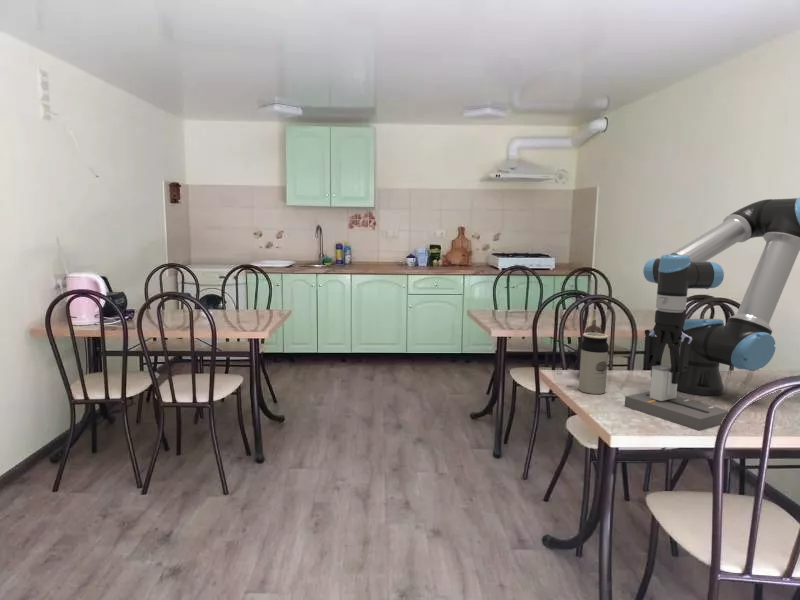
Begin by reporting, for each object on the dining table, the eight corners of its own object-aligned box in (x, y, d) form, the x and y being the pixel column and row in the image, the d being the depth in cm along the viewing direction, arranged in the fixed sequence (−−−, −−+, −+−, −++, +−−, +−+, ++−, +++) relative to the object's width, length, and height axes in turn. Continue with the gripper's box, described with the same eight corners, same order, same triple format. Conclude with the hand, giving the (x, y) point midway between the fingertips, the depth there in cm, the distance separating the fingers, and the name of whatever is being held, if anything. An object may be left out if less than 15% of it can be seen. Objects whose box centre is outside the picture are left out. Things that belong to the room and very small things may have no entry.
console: (624, 406, 159) (625, 395, 158) (654, 399, 166) (655, 389, 166) (699, 430, 140) (700, 418, 140) (729, 422, 147) (730, 410, 147)
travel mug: (574, 387, 177) (578, 332, 175) (598, 387, 178) (602, 332, 176) (585, 394, 169) (589, 337, 167) (609, 394, 170) (614, 337, 168)
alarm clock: (579, 371, 199) (583, 316, 196) (600, 373, 196) (604, 317, 193) (576, 381, 185) (580, 322, 183) (599, 383, 182) (604, 324, 180)
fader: (649, 397, 156) (651, 366, 155) (664, 394, 159) (667, 363, 158) (660, 401, 153) (663, 369, 152) (676, 397, 156) (679, 366, 155)
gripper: (635, 307, 158) (628, 386, 161) (691, 315, 144) (683, 402, 147) (651, 305, 162) (645, 383, 165) (708, 313, 148) (700, 398, 151)
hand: (663, 392), depth 156 cm, fingers open, 4 cm apart
